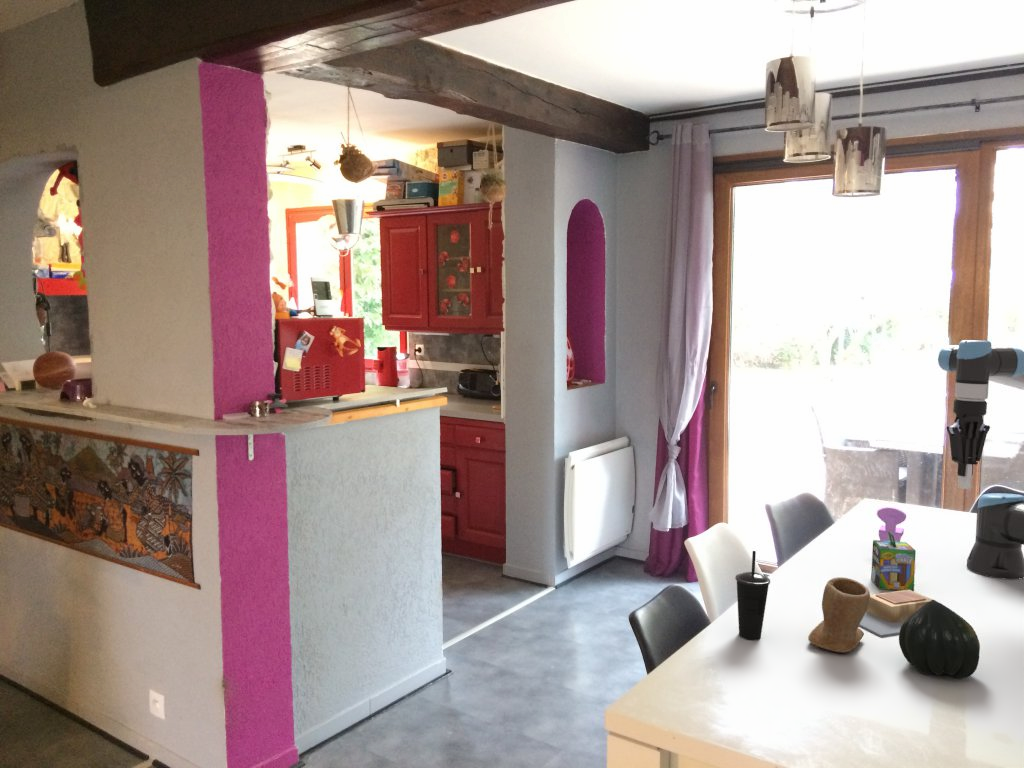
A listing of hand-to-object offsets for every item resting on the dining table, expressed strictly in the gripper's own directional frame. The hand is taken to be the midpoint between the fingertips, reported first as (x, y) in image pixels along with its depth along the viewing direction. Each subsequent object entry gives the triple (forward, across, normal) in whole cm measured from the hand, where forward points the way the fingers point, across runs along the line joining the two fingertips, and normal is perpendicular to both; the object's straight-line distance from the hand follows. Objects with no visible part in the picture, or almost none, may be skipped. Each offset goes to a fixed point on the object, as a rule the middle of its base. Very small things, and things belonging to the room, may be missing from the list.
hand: (963, 488), depth 210 cm
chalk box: (+30, +10, -12) cm, 34 cm away
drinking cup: (+30, +70, +5) cm, 76 cm away
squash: (+30, +43, +32) cm, 61 cm away
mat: (+29, +31, +6) cm, 43 cm away
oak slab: (+27, +19, +6) cm, 33 cm away
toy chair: (+30, -14, -36) cm, 49 cm away
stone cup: (+30, +53, +15) cm, 63 cm away
